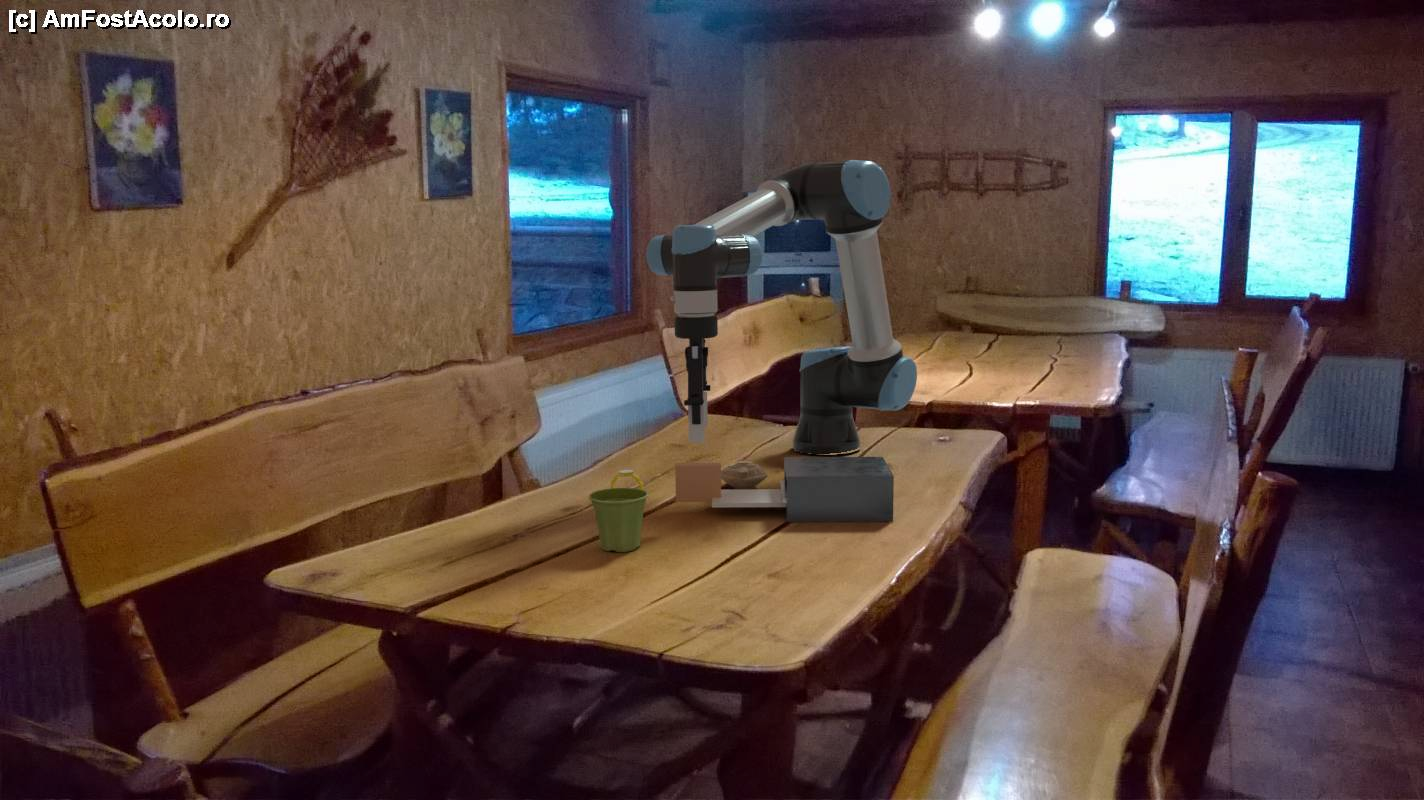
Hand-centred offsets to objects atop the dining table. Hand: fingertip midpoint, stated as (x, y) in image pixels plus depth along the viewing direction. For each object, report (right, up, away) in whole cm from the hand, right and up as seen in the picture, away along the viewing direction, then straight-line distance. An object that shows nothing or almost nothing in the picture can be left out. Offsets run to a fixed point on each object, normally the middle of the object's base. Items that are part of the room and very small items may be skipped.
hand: (698, 434), depth 199 cm
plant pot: (-12, -17, -20) cm, 30 cm away
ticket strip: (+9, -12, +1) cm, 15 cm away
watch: (-13, -13, +9) cm, 21 cm away
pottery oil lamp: (+9, -11, +21) cm, 25 cm away
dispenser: (+24, -13, +1) cm, 28 cm away
